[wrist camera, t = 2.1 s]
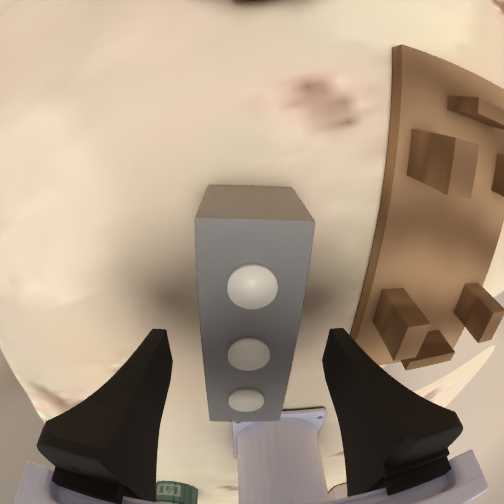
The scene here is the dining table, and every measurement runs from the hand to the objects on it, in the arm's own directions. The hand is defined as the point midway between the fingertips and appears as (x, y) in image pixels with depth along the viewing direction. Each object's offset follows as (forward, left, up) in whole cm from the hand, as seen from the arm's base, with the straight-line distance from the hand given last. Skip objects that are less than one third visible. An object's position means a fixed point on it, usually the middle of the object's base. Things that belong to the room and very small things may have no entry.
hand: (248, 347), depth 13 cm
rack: (+4, -12, -5) cm, 13 cm away
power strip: (0, 0, -5) cm, 5 cm away
